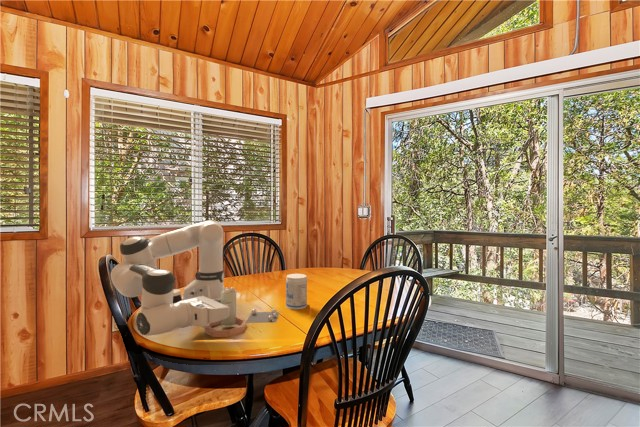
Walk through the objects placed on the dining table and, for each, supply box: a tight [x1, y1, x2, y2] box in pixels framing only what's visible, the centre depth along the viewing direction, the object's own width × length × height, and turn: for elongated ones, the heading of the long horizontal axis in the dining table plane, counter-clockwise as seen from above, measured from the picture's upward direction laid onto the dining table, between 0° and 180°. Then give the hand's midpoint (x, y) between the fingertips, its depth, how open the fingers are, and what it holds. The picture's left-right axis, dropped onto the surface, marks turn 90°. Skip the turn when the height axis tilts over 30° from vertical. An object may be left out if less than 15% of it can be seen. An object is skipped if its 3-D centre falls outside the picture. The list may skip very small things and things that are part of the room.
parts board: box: [246, 308, 280, 324], centre depth 131 cm, size 12×12×3 cm
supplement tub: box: [285, 273, 308, 310], centre depth 146 cm, size 10×10×15 cm
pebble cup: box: [220, 286, 237, 327], centre depth 120 cm, size 6×6×14 cm
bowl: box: [203, 316, 248, 338], centre depth 119 cm, size 14×14×3 cm
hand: (227, 302), depth 119 cm, fingers closed on pebble cup, 5 cm apart
